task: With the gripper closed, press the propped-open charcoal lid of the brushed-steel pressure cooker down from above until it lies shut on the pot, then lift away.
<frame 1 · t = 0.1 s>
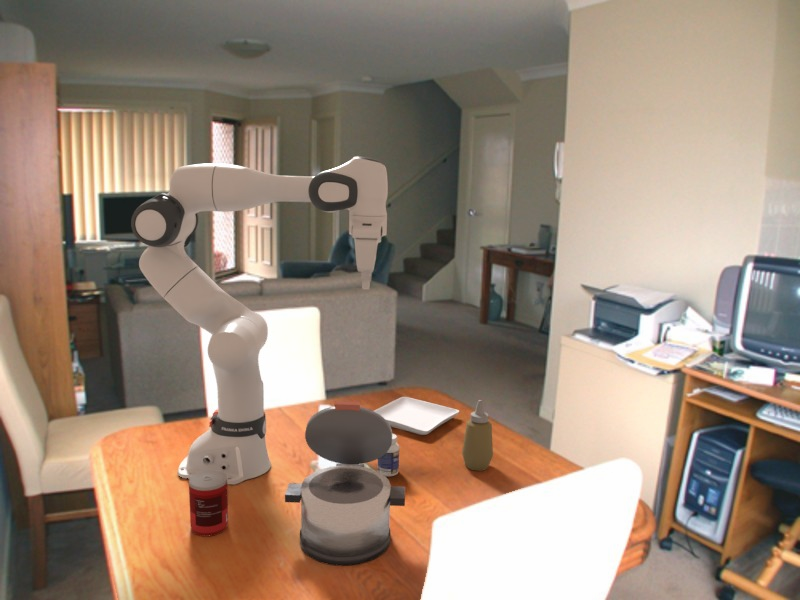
hand: (366, 285, 156), 48 cm above the table, tool pointing down, fingers open, 8 cm apart
pill bottle: (388, 473, 165), on the table
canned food: (209, 527, 138), on the table
salad plate: (413, 422, 200), on the table
cooker pot: (345, 538, 135), on the table
cooker lid: (348, 433, 135), point 21 cm above the table, hinge at 60.0°
squeeze bottle: (476, 467, 170), on the table
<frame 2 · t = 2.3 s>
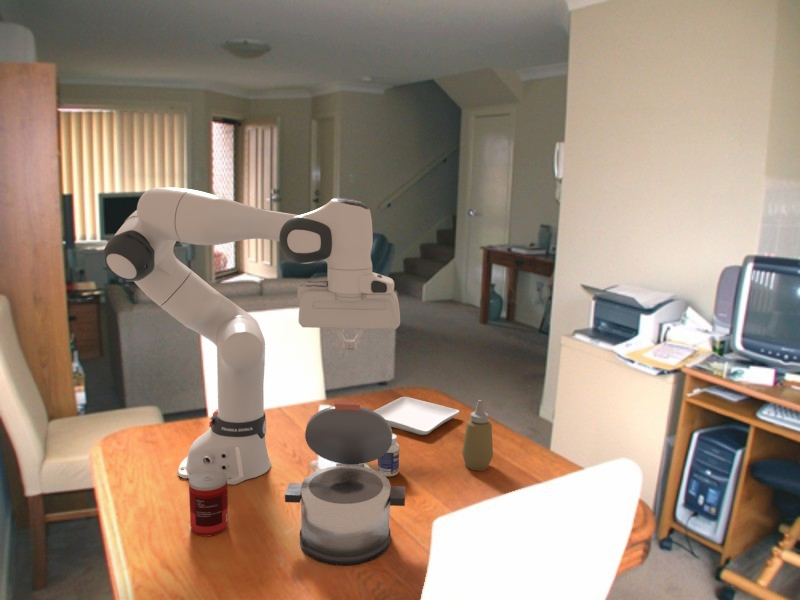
hand: (349, 349, 131), 39 cm above the table, tool pointing down, fingers closed
nothing on the table moved.
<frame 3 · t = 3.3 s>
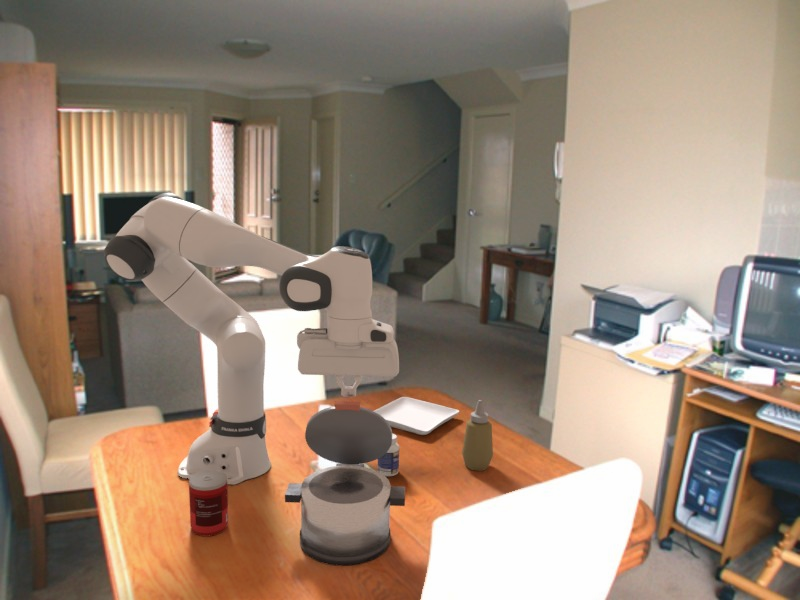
hand: (348, 395, 132), 30 cm above the table, tool pointing down, fingers closed
nothing on the table moved.
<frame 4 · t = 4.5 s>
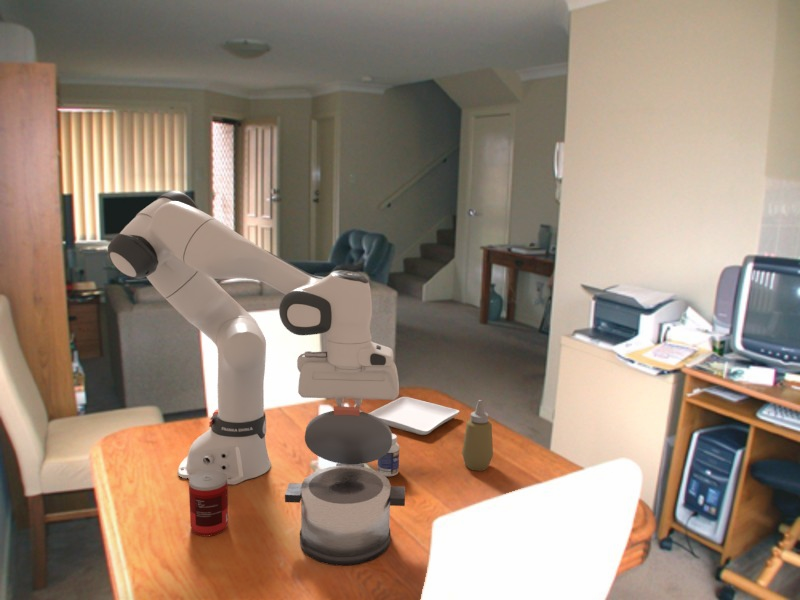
hand: (348, 418, 133), 25 cm above the table, tool pointing down, fingers closed
cooker lid: (348, 436, 135), point 21 cm above the table, hinge at 56.0°
everything else where it was.
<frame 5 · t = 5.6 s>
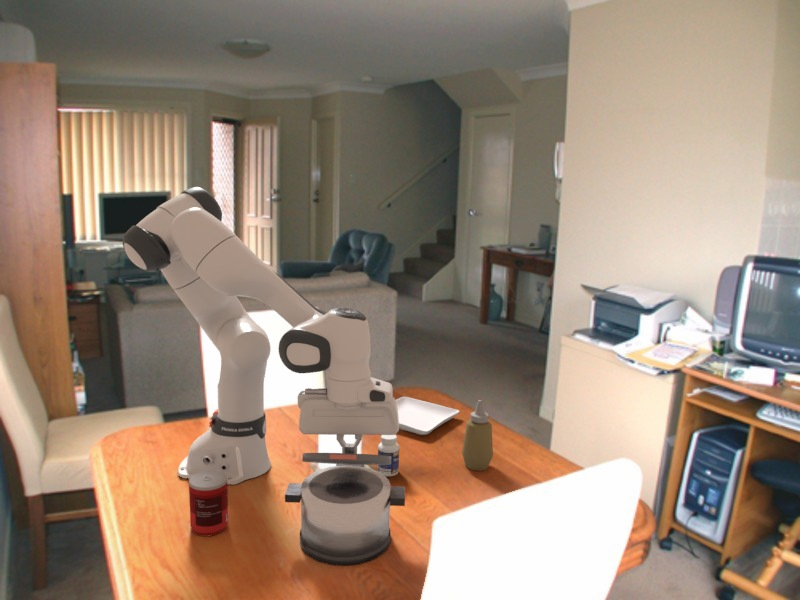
hand: (349, 453, 133), 18 cm above the table, tool pointing down, fingers closed, pressing on cooker lid
cooker lid: (346, 458, 132), point 17 cm above the table, hinge at 27.1°, touching gripper
everything else where it was.
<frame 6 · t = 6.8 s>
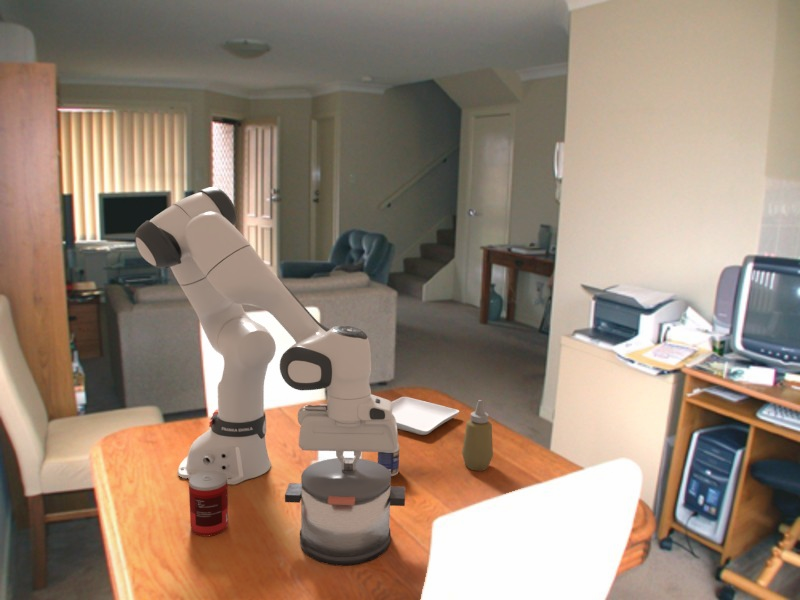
hand: (348, 469, 135), 14 cm above the table, tool pointing down, fingers closed, pressing on cooker lid
cooker lid: (345, 480, 131), point 13 cm above the table, hinge at 2.5°, touching gripper
everything else where it was.
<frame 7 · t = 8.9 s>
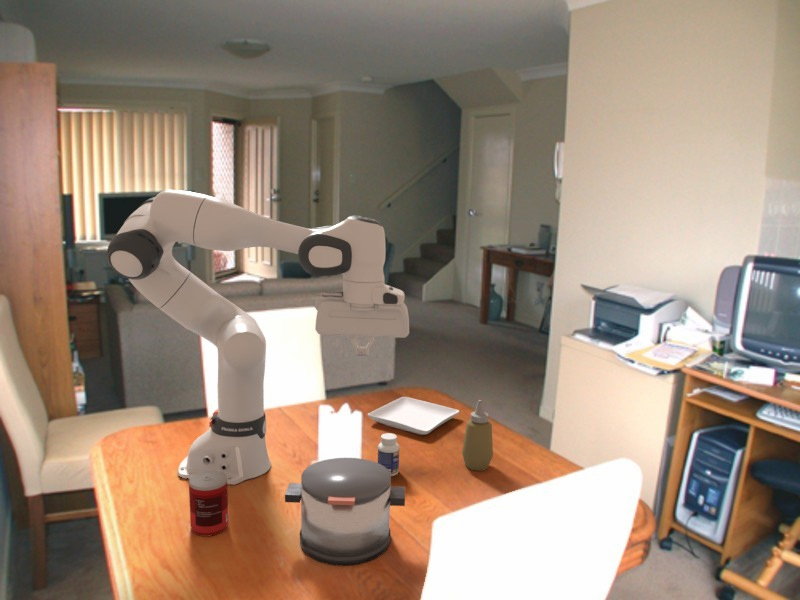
hand: (361, 355, 142), 35 cm above the table, tool pointing down, fingers closed
cooker lid: (345, 480, 131), point 13 cm above the table, hinge at 2.4°
everything else where it was.
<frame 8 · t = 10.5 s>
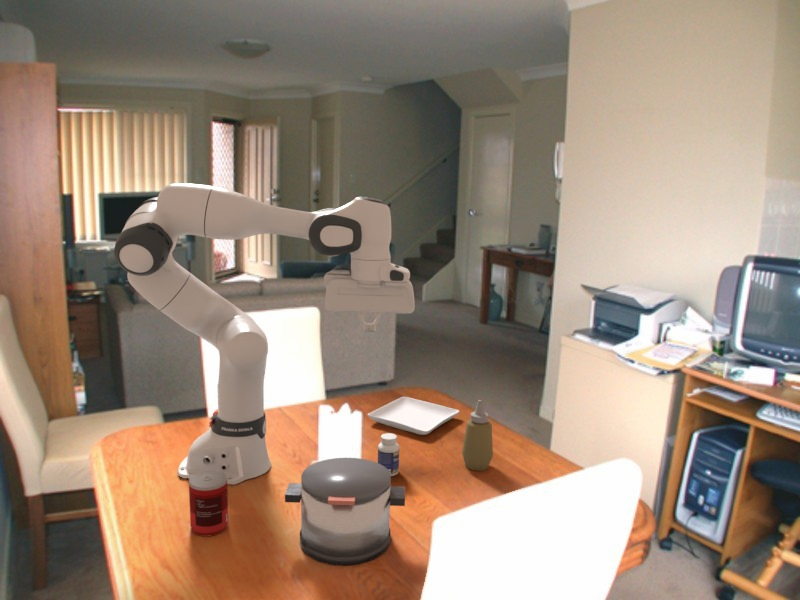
hand: (369, 331, 148), 39 cm above the table, tool pointing down, fingers closed
nothing on the table moved.
at the end: cooker lid at +2° (first picture: +60°) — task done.
